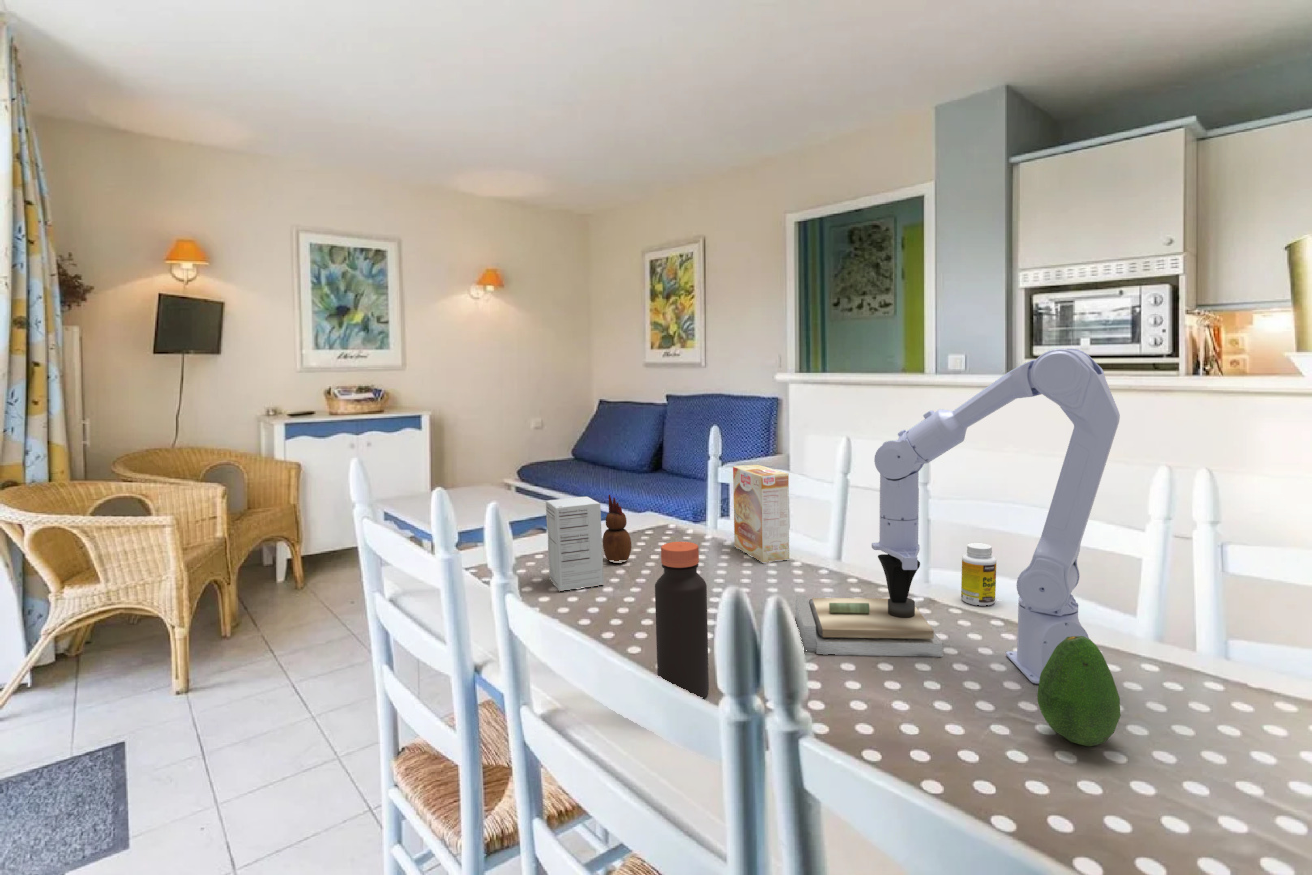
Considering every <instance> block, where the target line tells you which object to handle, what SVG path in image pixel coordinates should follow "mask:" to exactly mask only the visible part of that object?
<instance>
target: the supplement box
mask: <svg viewBox="0 0 1312 875" xmlns="http://www.w3.org/2000/svg"><path fill="white" fill-rule="evenodd" d="M601 508H602V507H601V503H600V502H598V501H597V500H594V499H593V498H591V497H590V496H578V497H576V496H575V497H569V498H558V499H549V500H545V512H546V513H545V514H546V530H547V550H548V551H547V554H548V572H549V573H548V574H549V577H550V578H551V580H552V582H553V583H554V584H555V586H556V587H557V588H558V589H557V588H556V587H555V586H554V587H555V588H556V589H557V590H558V591H559V590H570V589H576V588H581V587H585V586H594V585H600V584H603V583H605V582H604V581H605V580H604V579H605V578H604V559H603V535H602V532H603V531H602V512H601V511H602V510H601ZM550 578H549V579H550ZM552 582H551V583H552ZM553 583H552V584H553ZM554 584H553V585H554ZM570 591H571V590H570Z"/></svg>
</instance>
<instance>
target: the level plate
mask: <svg viewBox="0 0 1312 875" xmlns="http://www.w3.org/2000/svg"><path fill="white" fill-rule="evenodd" d="M808 603H809V605H810V608H811V611H812V614H813V618H814V621H815V624H816V627H817V630H818V633H819V635H821V636H823V637H847V638H922V639H934V633H935V630H934V629H933V628H932V626H931V625H930V624H929V623H928V621H927V620H926V619H925V617H924V616H923V614H922V612H920V610H919V609H918V607H916V601H915V600H914V599H912V598H909V597H907V601H906V603H893V602H892V601H891V599H890V597H889V598H881V597H880V598H879V597H878V598H876V597H875V598H872V597H870V598H868V597H867V598H864V597H863V598H859V597H856V598H855V597H812V598H810V599H809V600H808Z"/></svg>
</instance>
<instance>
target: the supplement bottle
mask: <svg viewBox="0 0 1312 875" xmlns="http://www.w3.org/2000/svg"><path fill="white" fill-rule="evenodd" d="M992 554H993V547H992V545H990V544H987V543H981V542H971V543H968V544H967V545H966V553H965V554H963V555H962V558H961V583H960V585H961V586H960V587H961V588H960V589H961V590H960V597H961V600H962V601H963V602H964V603H967V604H969V605H973V606H977V605H979V606H978V607H980V606H982V607H986V605H988V606H991V605H993V604H995V602H996V590H997V589H996V588H997V584H996V583H997V559H996V557H995V556H993V555H992Z"/></svg>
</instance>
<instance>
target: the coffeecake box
mask: <svg viewBox="0 0 1312 875" xmlns="http://www.w3.org/2000/svg"><path fill="white" fill-rule="evenodd" d="M732 477H733V480H732V481H733V483H732V484H733V487H732V488H733V532H734V534H733V535H734V537H733V538H734V545H735V546H736V547H737V548H740V549H741V550H742V551H744V552H746V553H748V554H749V555H751V556H753V557H754V558H756V559H757V560H760V561H761V562H769V561H775V560H785V559H789V560H790V499H789V498H790V497H789V496H790V495H789V493H790V492H789V491H790V490H789V487H790V486H789V481H790V480H789V479H790V478H789V473H787V472H783V471H781V470H778V469H775V468H771V467H767V466H764V465H760V464H749V465H748V464H746V465H742V464H741V465H734V466H733V467H732ZM737 548H736V549H737ZM742 551H741V552H742ZM744 552H743V553H744ZM749 555H748V556H749ZM754 558H753V559H754ZM756 559H755V560H756ZM757 560H756V561H757ZM761 562H760V563H761Z"/></svg>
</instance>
